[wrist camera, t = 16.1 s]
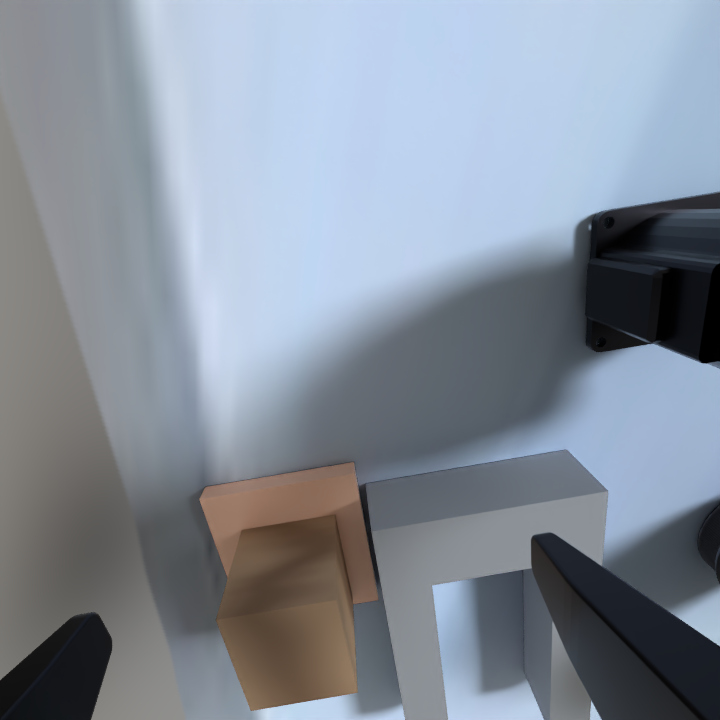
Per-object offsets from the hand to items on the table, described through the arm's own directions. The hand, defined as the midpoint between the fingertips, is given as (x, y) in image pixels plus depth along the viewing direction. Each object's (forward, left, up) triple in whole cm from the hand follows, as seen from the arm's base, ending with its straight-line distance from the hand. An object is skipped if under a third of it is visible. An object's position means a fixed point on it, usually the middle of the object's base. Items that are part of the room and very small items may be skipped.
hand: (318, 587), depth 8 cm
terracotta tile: (+4, +10, -12) cm, 16 cm away
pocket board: (-6, +16, -12) cm, 21 cm away
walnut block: (+3, +11, -11) cm, 16 cm away
